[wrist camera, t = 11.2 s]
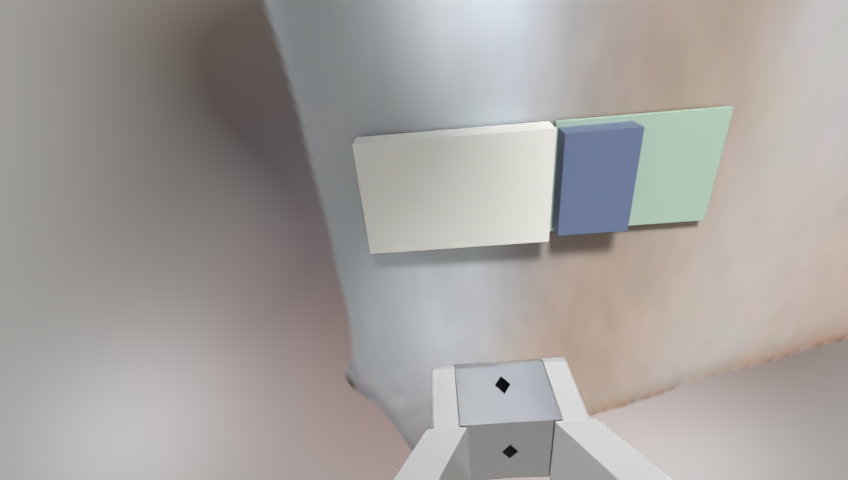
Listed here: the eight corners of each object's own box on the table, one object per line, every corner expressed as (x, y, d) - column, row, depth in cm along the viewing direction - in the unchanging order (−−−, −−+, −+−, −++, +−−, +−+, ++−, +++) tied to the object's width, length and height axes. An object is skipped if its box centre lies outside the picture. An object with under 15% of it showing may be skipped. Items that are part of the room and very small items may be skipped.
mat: (554, 120, 34) (556, 122, 34) (729, 106, 34) (733, 107, 33) (547, 228, 39) (549, 231, 38) (700, 217, 38) (704, 220, 38)
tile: (558, 127, 34) (565, 133, 32) (633, 121, 34) (644, 126, 32) (551, 225, 38) (557, 236, 36) (618, 220, 38) (627, 230, 36)
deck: (356, 136, 35) (352, 145, 33) (548, 121, 34) (556, 128, 32) (373, 240, 40) (370, 254, 37) (542, 228, 39) (549, 241, 37)
